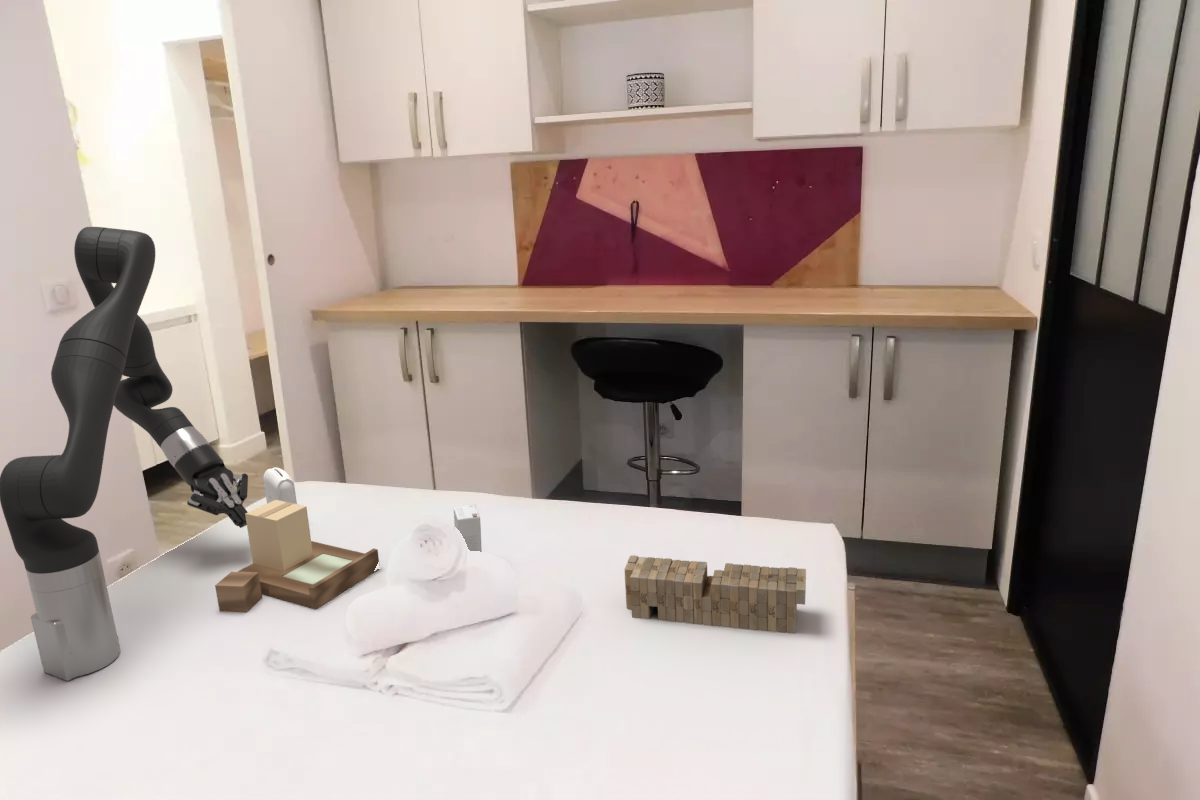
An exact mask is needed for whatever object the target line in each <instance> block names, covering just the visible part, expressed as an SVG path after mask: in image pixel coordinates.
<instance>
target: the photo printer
mask: <svg viewBox="0 0 1200 800" xmlns="http://www.w3.org/2000/svg"><path fill="white" fill-rule="evenodd" d="M262 480H263V485H264V491H265V499H266V504H267V503H270V502H272V501H274V500H279V501H284V502H289V503H293V504H298V501H297V495H296V488H295V482H294V480H293V479H292V477H291V476H290V475H289V474H288V472H287V471H285V470H284V469H282V468H280V467H275V466H274V467H272V468H268V469H266V470H265V471H264V473H263V479H262Z"/></svg>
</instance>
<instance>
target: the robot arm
mask: <svg viewBox="0 0 1200 800" xmlns="http://www.w3.org/2000/svg"><path fill="white" fill-rule="evenodd" d="M73 248H74V249H73V250H74V251H73V252H74V260H75V265H76V268H77V272H78V274H79V277H80V279H81V282H82V283H83V285H84V288H85V290H86V291H87V295H88V297H89V298H90V301H91V303H92V306H93V307H94V308H93V309H91V310H90V311H89V312H87V313H86V314H85V315H83V316H81V318H79V319H78V320H77V321H75V323H73V324H72V325H71V326H70V327H69V328H68V329H67V330H65V332H64V333H63V336H62V337H61V339H60V341H59V344H58V347H57V350H56V353H55V354H56V355H55V357H54V361H53V364H52V367H51V370H50V371H51V372H50V379H51V383H52V387H53V389H54V391H55V393H56V396H57V398H58V400H59V402H60V404H61V406H62V408H63V410H64V411H65V414H66V417H67V421H68V435H67V439H66V444H65V448H64V450H63V452H62V453H61V454H54V455H53V454H51V455H31V456H30V455H29V456H20V457H17V458H14V459H13V460H10V461H9V462H7V464H6V465H5V466H4V467H3V469H2V471H1V474H0V506H1V509H2V513H3V517H4V519H5V520H4V521H5V522H6V526H7V528H8V532H9V534H10V537H11V538H10V539H11V540H12V544H13V547H14V549H15V553H17V556H18V557H20V559H21V560H22V561H23V564H24V568H25V571H26V576H27V580H28V584H29V589H30V592H31V597H32V600H33V605H34V608H35V613H33V614H32V615H31V616H30V620H31V624H32V629H33V633H34V636H35V638H34V639H35V641H36V645H37V649H38V654H39V657H40V661H41V666H42V669H43V670H42V671H43V672H44V673H47V674H49V675H50V676H51V675H52V676H54V677H56V678H59V679H61V680H64V681H65V682H66V681H67V682H68V681H71V680H72V679H74V678H77V677H80V676H85V675H88V674H91V673H94V672H96V671H99V670H101V669H103V668H104V667H107V666H108V665H110V664H111V663H113V662H115V660H116V659H117V658H118V657H119V655H120V653H121V646H120V641H119V636H118V633H117V628H116V622H115V619H114V614H113V609H112V604H111V601H110V600H111V599H110V595H109V591H108V586H107V581H106V576H105V572H104V568H103V564H102V563H103V562H102V558H101V554H100V553H101V552H100V549H99V544H98V540H97V538H96V535H95V534H94V533H93V532H92V531H90V530H88V529H84V528H81V527H78V526H76V525H73V524H71V523H69V522H67V521H65V520H64V519H75V518H79V517H82V516H85V515H86V514H87V513H88V512H89V511H90V509H91V508H92V506H93V505H94V503H95V501H96V498H97V496H98V493H99V492H98V491H99V487H100V483H101V477H102V476H101V475H102V470H103V464H104V463H103V462H104V456H105V452H106V451H105V450H106V444H107V443H106V442H107V437H108V436H107V435H108V431H109V425H110V421H111V417H112V414H113V409H114V407H115V408H116V410H117V411H119V413H121V414H122V415H123V416H125V417H126V418H128V419H129V420H131V421H132V422H134V423H135V424H137V425H138V426H139V427H141V428H142V429H143V430H144V431H146V432H147V433H148V434H149V435H150V437H151V438H152V439H153V440H154V442H155V443H156V444H157V445H158V447H159V448H160V450H161V451H162V453H163V454H164V456H165V457H166V459H167V461H168V462H169V464H170V465H171V466H172V467H173V468H174V469H175V471H176V472H177V474H178V475H179V476H180V477H181V479H183V481H184V482H185V484H186V485H188V486H189V487H190V490H191V492H192V494H191V495H190V497H189V498H188V500H187V502H186V503H187V505H188V506H189V507H191V508H195V509H197V510H200V511H203V512H205V513H209V514H211V515H214V516H219V515H221V514H224V515H227V517H228V518H229V519H230V520H231V522H232V523H233V524H234V525H235V526H237V527H239V528H243V527H247V523H246V517H245V513H247V512H248V511H247V509H246V508H245V507H244V505H243V504H244V502H245V500H247V498H248V485H249V484H248V483H249V482H248V481H249V475H248V474H247V473H242V474H240V475H239V474H235V473H233V471H232V470H231V469H229V468H227V467H226V466H225V463H224V460H223V459H222V458H221V456H220V455H219V454H218V452H217V451H216V450H215V449H214V448H213V446H212V445H211V444H210V442H209V441H208V440H207V438H206V437H205V436H204V435H203V434H202V432H200V431H199V430H197V428H196V427H195V426H194V424H193V423H192V422H191V421H190V420H189V419H188V417H187V416H186V414H184V411H182V410H181V409H180V408H178V407H176V406H168V407H163V408H154V407H156V406H159V405H161V404H164V403H165V402H167V401H169V399H170V398H171V397H172V394H173V385H172V382H171V381H170V380H169V378H168V376H167V375H166V374H165V372H164V371H163V369H162V367H161V365H160V363H159V361H158V358H157V356H156V351H155V347H154V340H153V336H152V333H151V331H150V328H149V327H148V325H147V323H146V321H144V320H143V319H142V318H141V316H140V315H139V312H140V311H139V310H140V309H141V305H142V303H143V300H144V297H145V296H146V295H145V294H146V292H147V289H148V287H149V284H150V282H151V281H150V280H151V279H152V275H153V271H154V269H155V264H156V263H155V262H156V246H155V242H154V241H153V238H152V237H151V236H150V235H149V234H147V233H145V232H141V231H138V230H137V231H136V230H130V229H123V228H121V229H120V228H114V227H113V228H112V227H103V226H85V227H84V228H81V230H80V231H79V232H78V234H77V235H76V239H75V241H74V247H73ZM113 284H115V285H113ZM123 376H124V377H126V378H124V379H122V377H123ZM235 487H236V488H235Z"/></svg>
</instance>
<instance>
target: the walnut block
mask: <svg viewBox="0 0 1200 800" xmlns="http://www.w3.org/2000/svg"><path fill="white" fill-rule="evenodd" d="M214 587H215V593H216V598H217V604H218V610H219V612H223V613H224V612H225V613H226V612H227V613H229V612H232V613H248V612H249V611H250V610H251V609H252V608H253V607H254V606H255V605H256V604H257V603H258V602H259V601H260V600H262V598H263V594H262V592H261V586H260V580H259V573H258V572H237V571H230V572H229V573H228V574H227V575H226V576H225V577H223V578H222V579H220V581H219V582H218V583H216V584H215V585H214Z"/></svg>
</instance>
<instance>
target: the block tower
mask: <svg viewBox="0 0 1200 800" xmlns="http://www.w3.org/2000/svg"><path fill="white" fill-rule="evenodd" d="M624 583H625V584H624V585H625V587H624V588H625V602H626V604H625V605H626V610H631V617H632V618H634V619H643V620H650V618H651V616H652V614H653V613H652V612H653V610H654V607H657V619H658V621H663V622H664V621H666V622H670V623H676V622H677V623H683V624H684V623H685V624H690V625H692V624H693V625H702V626H709V627H711V626H713V627H716V628H717V627H719V628H720V627H721V628H722V627H723V628H731V629H737V630H738V629H741V630H750V631H761V632H771V633H784V634H785V633H786V634H796V625H797V614H798V612H797V611H798V610H797V609H798V606H797V605H802V606H805V605H806V594H807V593H806V591H807V590H806V589H807V587H806V586H807V569H806V568H797V567H791V566H790V567H772V566H771V567H769V566H761V565H751V564H739V563H738V564H736V563H735V564H734V563H728V562H726V563H725V564H724V569H722V570H721V569H714V572H713V575H708V562H707V561H697V560H691V561H690V560H680V559H672V558H663V557H654V556H653V557H647V556H646V557H645V556H639V555H630V556H629V558H628V560H627V563H626V565H625V567H624Z"/></svg>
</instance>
